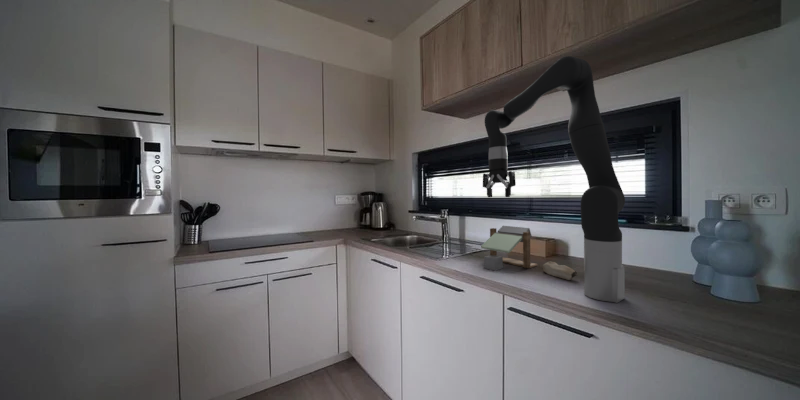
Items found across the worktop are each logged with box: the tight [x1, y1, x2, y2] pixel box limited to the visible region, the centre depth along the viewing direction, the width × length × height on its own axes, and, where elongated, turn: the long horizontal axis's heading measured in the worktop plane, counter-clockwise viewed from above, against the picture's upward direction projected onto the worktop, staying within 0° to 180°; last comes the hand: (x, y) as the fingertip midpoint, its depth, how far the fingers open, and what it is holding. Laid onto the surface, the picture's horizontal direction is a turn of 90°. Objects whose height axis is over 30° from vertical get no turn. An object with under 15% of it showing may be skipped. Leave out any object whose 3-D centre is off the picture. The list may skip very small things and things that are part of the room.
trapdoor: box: [480, 225, 533, 254], centre depth 123 cm, size 14×18×4 cm
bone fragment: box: [542, 261, 578, 281], centre depth 106 cm, size 14×6×5 cm, turn 7°
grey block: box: [483, 254, 504, 271], centre depth 118 cm, size 5×5×6 cm
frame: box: [489, 227, 538, 269], centre depth 126 cm, size 19×7×15 cm, turn 36°
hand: (498, 197), depth 118 cm, fingers open, 8 cm apart
